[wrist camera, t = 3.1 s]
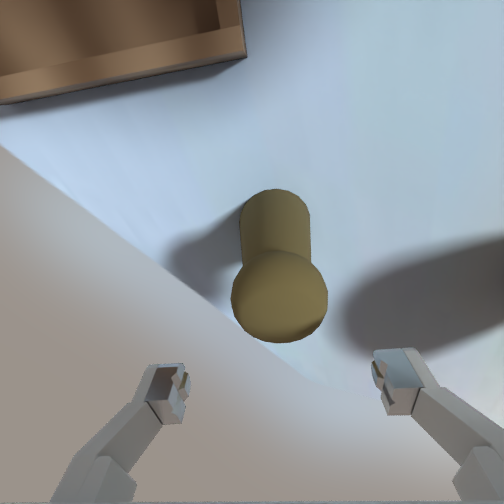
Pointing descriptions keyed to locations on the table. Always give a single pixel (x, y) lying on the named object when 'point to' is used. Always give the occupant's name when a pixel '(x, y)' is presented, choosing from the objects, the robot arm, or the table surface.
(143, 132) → the table surface
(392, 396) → the robot arm
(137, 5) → the walnut tray
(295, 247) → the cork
